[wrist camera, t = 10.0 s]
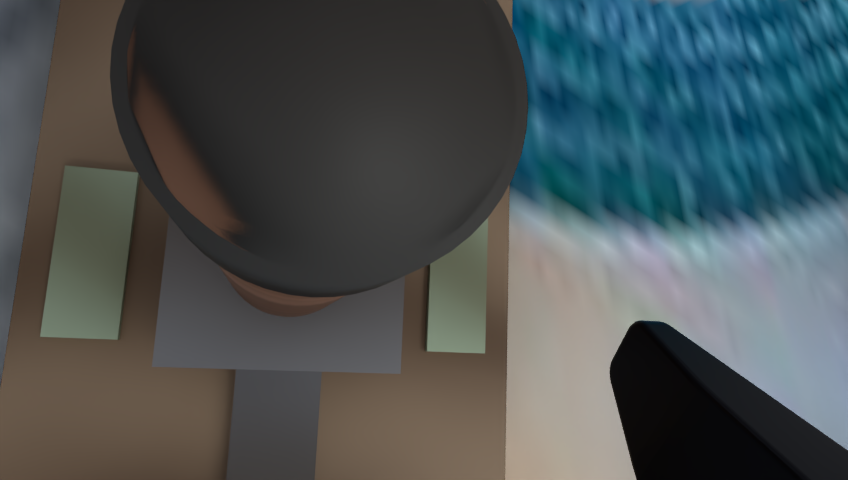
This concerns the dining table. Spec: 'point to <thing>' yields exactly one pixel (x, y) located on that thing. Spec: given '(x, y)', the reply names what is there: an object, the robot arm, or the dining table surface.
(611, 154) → the dining table surface
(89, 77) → the press base
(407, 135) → the handle
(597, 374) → the dining table surface
